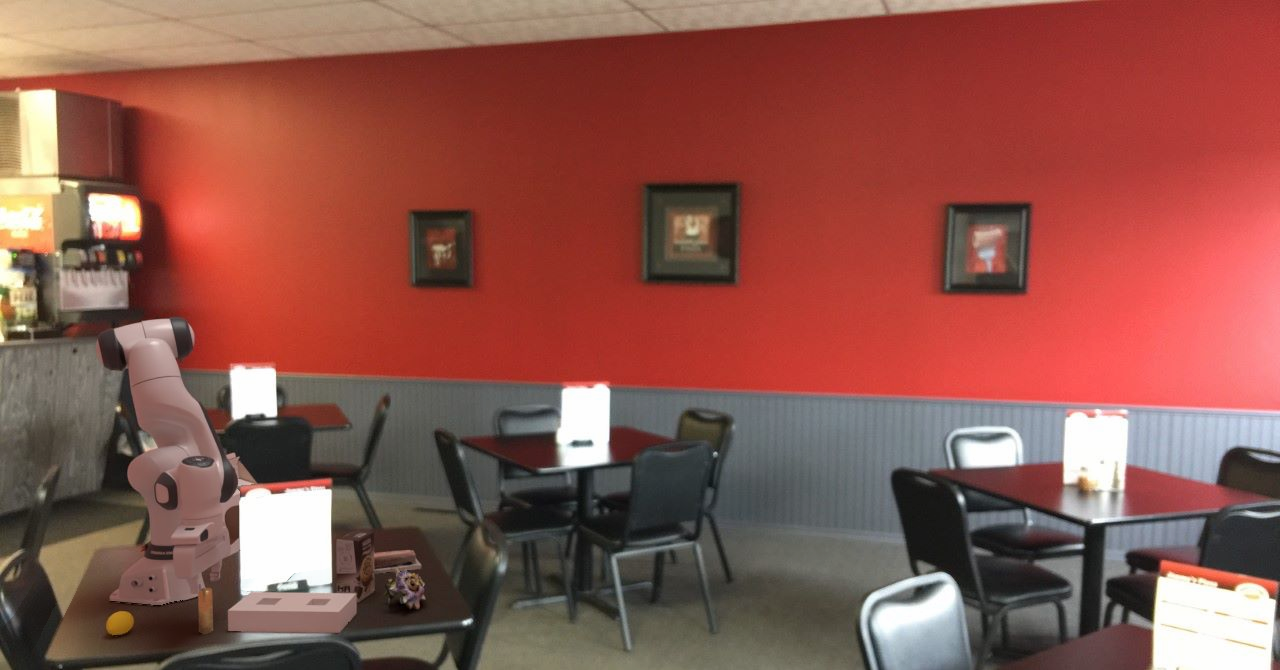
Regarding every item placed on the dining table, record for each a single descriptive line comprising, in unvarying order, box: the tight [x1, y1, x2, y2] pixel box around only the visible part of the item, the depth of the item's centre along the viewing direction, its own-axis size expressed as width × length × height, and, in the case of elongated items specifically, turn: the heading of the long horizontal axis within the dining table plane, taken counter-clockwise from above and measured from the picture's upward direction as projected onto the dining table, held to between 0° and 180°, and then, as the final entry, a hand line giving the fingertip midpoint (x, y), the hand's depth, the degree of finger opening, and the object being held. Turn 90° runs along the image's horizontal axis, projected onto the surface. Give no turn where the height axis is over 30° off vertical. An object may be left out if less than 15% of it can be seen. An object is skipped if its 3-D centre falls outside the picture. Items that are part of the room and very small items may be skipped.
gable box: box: [220, 452, 259, 560], centre depth 295 cm, size 22×13×28 cm, turn 170°
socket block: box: [227, 591, 358, 634], centre depth 235 cm, size 26×13×5 cm, turn 89°
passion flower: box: [382, 568, 426, 610], centre depth 246 cm, size 11×11×12 cm
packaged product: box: [374, 549, 423, 575], centre depth 278 cm, size 18×5×10 cm
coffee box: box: [335, 530, 376, 603], centre depth 253 cm, size 9×6×16 cm
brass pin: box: [197, 587, 214, 633], centre depth 228 cm, size 3×3×10 cm
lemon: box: [105, 610, 135, 636], centre depth 227 cm, size 7×5×5 cm
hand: (205, 586), depth 227 cm, fingers open, 8 cm apart
